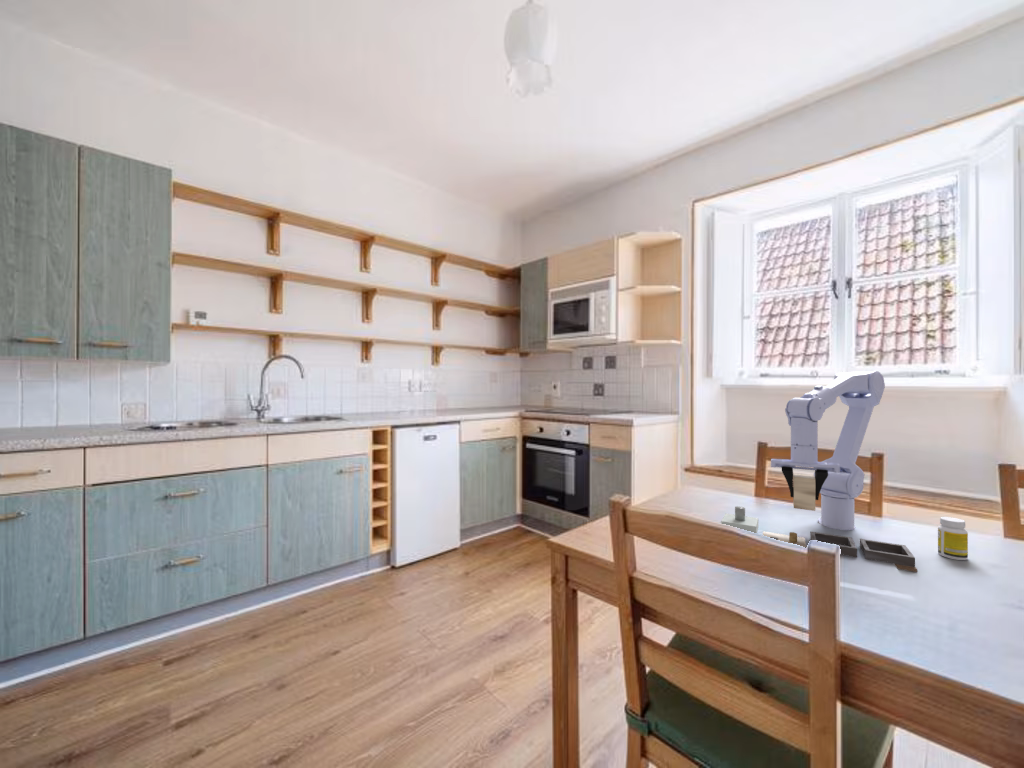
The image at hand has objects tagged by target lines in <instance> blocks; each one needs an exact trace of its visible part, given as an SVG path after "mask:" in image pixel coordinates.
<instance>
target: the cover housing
mask: <svg viewBox="0 0 1024 768" xmlns="http://www.w3.org/2000/svg"><path fill="white" fill-rule="evenodd" d="M720 523H722V524H726V525H730V526H733V527H737V528H740V529H744V530H747V531H751V532H754V533H757V534H758V530H759V517H752V516H748V515H747V516H746V507H745V506H738V505H737V506H734V514H731V513H725V514H724V515H723V517H722V519H721V521H720Z"/></svg>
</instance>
